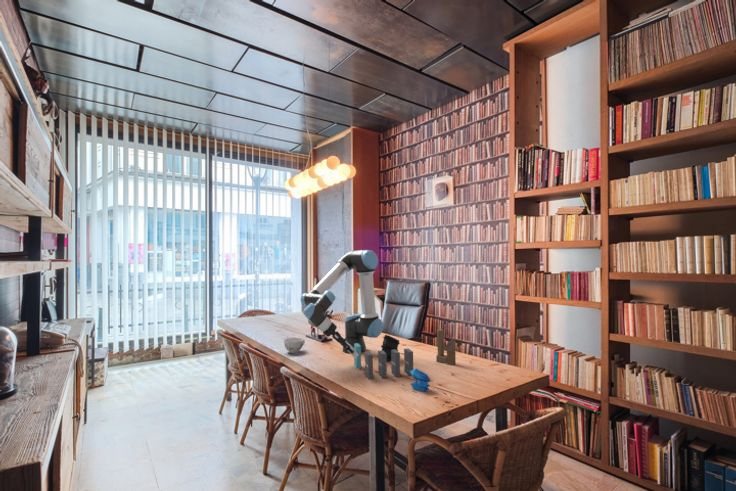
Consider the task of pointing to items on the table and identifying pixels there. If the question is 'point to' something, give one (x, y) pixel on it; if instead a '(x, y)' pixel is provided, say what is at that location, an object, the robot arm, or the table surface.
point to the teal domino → (358, 360)
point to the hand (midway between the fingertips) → (354, 353)
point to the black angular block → (389, 346)
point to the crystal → (420, 380)
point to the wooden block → (445, 349)
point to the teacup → (294, 344)
